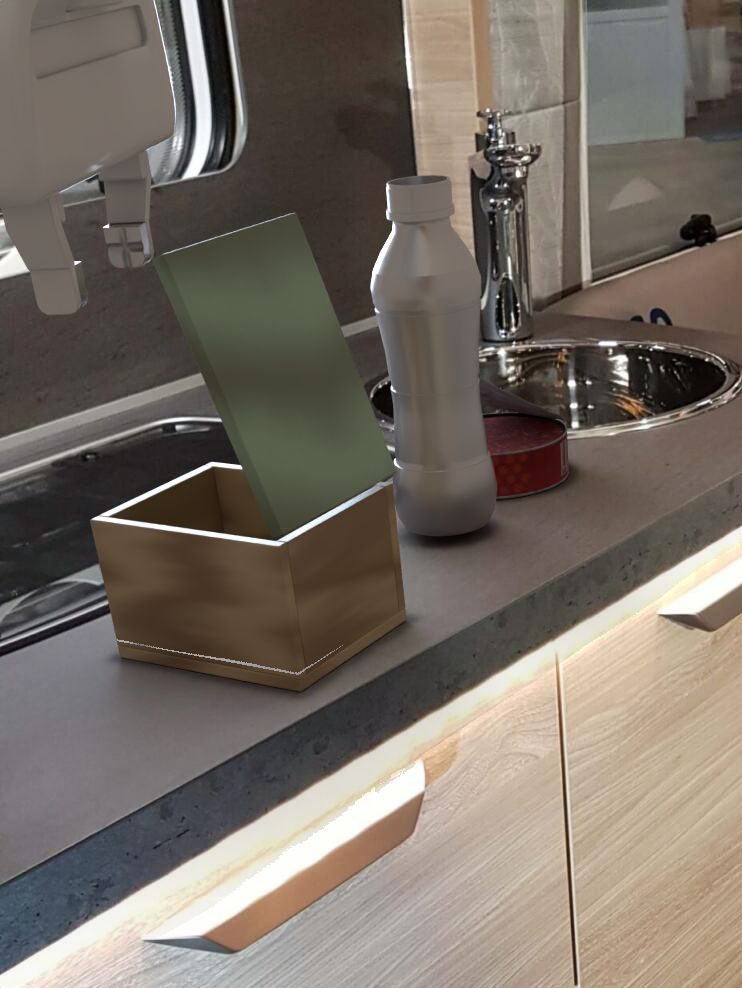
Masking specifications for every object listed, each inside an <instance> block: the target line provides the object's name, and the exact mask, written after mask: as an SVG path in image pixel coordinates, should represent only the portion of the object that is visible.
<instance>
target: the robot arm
mask: <svg viewBox="0 0 742 988" xmlns="http://www.w3.org/2000/svg"><path fill="white" fill-rule="evenodd" d="M176 111H177V109H176V98H175V94H174V88H173V83H172V77H171V73H170V66H169V63H168V56H167V52H166V48H165V43H164V38H163V33H162V29H161V23H160V17H159V15H158V9H157V5H156V0H0V210H1V214H2V219H3V223H4V227H5V228H4V229H5V231H6V232H7V234H8V236H9V239H10V240H11V242H12V243H13V246H14V247H15V249H16V251H17V252H18V254H19V257H20V258H21V260H22V261H23V264H24V265H25V267H26V269H27V270H28V271H29V274H30V278H31V279H30V280H31V283H32V287H33V293H34V296H35V300H36V304H37V307H38V309H39V310H40V311H41V313H43V314H45V315H46V316H63V315H64V316H65V315H73V314H75V313H77V312H78V311H79V310H80V309H82V308H83V307H84V306H85V305H87V303H88V301H89V298H90V297H89V291H88V288H87V286H86V276H85V272H84V267H83V261H82V260H81V261H80V260H79V261H75V259H74V255H73V252H72V250H71V247H70V244H69V241H68V238H67V236H66V232H65V230H64V227H63V224H62V223H64V222H66V219H67V217H66V211H65V207H64V202H63V201H64V200H63V197H62V192H64V191H66V190H69V189H70V188H72V187H75V186H76V185H79V184H80V183H83V182H85V181H86V180H89V179H91V178H93V177H95V176H98V177H97V178H98V180H99V182H103V188H104V196H105V197H104V198H105V208H106V209H105V210H106V219H107V225H105V226H103V227H102V230H103V231H102V232H103V237H104V240H105V245H106V247H107V257H108V260H109V263H110V264H111V266H113V267H114V268H116V269H120V270H122V269H139V268H141V267H143V266H145V265H146V264H148V263H149V262H151V260H153V259H154V256H155V247H154V241H153V237H152V231H151V225H150V216H151V215H150V214H151V192H152V171H151V165H150V160H149V154H148V150H150V149H152V148H154V147H156V146H158V145H160V144H162V143H165V142H167V141H168V140H171V139H172V138H173V137H174V136H175V131H176V118H177V117H176V115H177V114H176V113H177V112H176Z"/></svg>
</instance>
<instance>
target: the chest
mask: <svg viewBox="0 0 742 988" xmlns="http://www.w3.org/2000/svg"><path fill="white" fill-rule="evenodd" d="M397 522H398V521H397V511H396V507H395V502H394V492H393V482H386V481H381V482H379V483H377V484H375V485H374V486H372V487H370V488H368V489H366V490H365V491H363V492H361V493H359V494H357V495H356V496H354V497H352V498H350V499H348V500H347V501H345V502H343V503H341V504H339V505H338V506H336V507H334V508H332V509H330V510H329V511H327V512H325V513H323V514H322V515H320V516H318V517H316V518H314V519H313V520H311V521H309V522H307V523H305V524H304V525H302V526H300V527H298V528H296V529H295V530H293V531H291V532H289V533H287V534H286V535H284V536H281V537H278V538H275V539H273V538H272V537H271V534H270V532H269V530H268V527H267V525H266V523H265V521H264V518H263V516H262V514H261V511H260V509H259V507H258V504H257V502H256V500H255V497H254V495H253V493H252V490H251V488H250V486H249V483H248V481H247V479H246V476H245V474H244V472H243V469H242V467H241V465H240V464H233V463H232V464H231V463H225V462H224V463H223V462H214V461H210V462H208V463H206V464H205V465H202V466H200V467H198V468H196V469H194V470H191V471H190V472H187V473H185V474H183V475H181V476H179V477H177V478H174V479H172V480H171V481H169V482H166V483H164V484H162V485H160V486H158V487H156V488H154V489H152V490H149V491H147V492H145V493H143V494H141V495H139V496H137V497H134V498H132V499H130V500H128V501H127V502H124V503H122V504H120V505H118V506H116V507H114V508H112V509H109V510H107V511H105V512H103V513H101V514H99V515H98V516H95V517H93V518H91V519H90V520H89V523H90V526H91V527H90V528H91V531H92V536H93V540H94V544H95V549H96V554H97V557H98V563H99V568H100V572H101V576H102V581H103V585H104V589H105V594H106V599H107V603H108V609H109V613H110V616H111V617H110V618H111V621H112V626H113V630H114V635H115V639H118V640H124V641H129V642H133V643H137V644H138V643H139V644H144V645H148V646H149V645H150V646H152V647H153V646H154V647H157V648H158V647H159V648H163V649H168V650H174V651H179V652H186V653H190V654H191V653H192V654H197V655H198V654H199V655H204V656H211V657H216V658H225V659H230V660H235V661H240V662H241V661H242V662H245V663H246V662H247V663H252V664H257V665H260V666H265V667H270V668H275V669H277V668H278V669H281V670H286V671H289V672H290V671H291V672H294V673H295V672H297V673H298V672H300V671H302V670H303V669H305V668H306V667H308V666H310V665H311V664H314V663H315V662H317V661H318V660H320V659H321V658H323V657H324V656H326V655H327V654H329V653H330V652H332V651H334V650H335V651H334V652H332V653H331V654H329V655H328V656H326V657H325V658H323V659H322V660H320V661H319V662H317V663H316V664H314V665H313V666H311V667H310V668H308V669H306V670H305V671H304V672H302V673H301V674H299V675H296V674H290V673H285V672H279V671H274V670H269V669H263V668H258V667H253V666H247V665H242V664H237V663H231V662H226V661H221V660H215V659H210V658H205V657H199V656H194V655H188V654H183V653H178V652H172V651H167V650H162V649H156V648H151V647H146V646H140V645H135V644H130V643H124V642H119V641H117V640H116V644H117V648H118V653H119V657H120V658H123V659H128V660H134V661H139V662H144V663H149V664H155V665H160V666H165V667H169V668H175V669H180V670H186V671H191V672H196V673H200V674H206V675H211V676H218V677H221V678H226V679H227V678H228V679H232V680H238V681H243V682H247V683H253V684H258V685H263V686H269V687H274V688H280V689H285V690H290V691H295V692H303V691H304V690H305V689H307V688H309V687H311V686H312V685H313V684H315V683H316V682H318V681H319V680H320V679H322V678H323V677H325V676H326V675H328V674H329V673H331V672H332V671H334V670H335V669H336V668H338V667H339V666H341V665H342V664H344V663H345V662H347V661H348V660H350V659H351V658H352V657H354V656H355V655H357V654H359V653H360V652H361V651H363V650H365V649H366V648H367V647H369V646H370V645H371V644H373V643H374V642H376V641H377V640H380V638H382V637H383V636H385V635H386V634H388V633H389V632H391V631H392V630H394V629H395V628H397V627H398V626H399V625H401V624H403V623H404V622H405V621H407V619H408V618H407V609H406V599H405V598H406V597H405V589H404V581H403V580H404V579H403V572H402V571H403V569H402V561H401V551H400V541H399V532H398V523H397ZM342 645H343V646H342ZM340 646H341V647H340ZM339 647H340V648H339ZM337 648H338V649H337ZM336 649H337V650H336Z"/></svg>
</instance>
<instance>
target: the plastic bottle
mask: <svg viewBox="0 0 742 988" xmlns="http://www.w3.org/2000/svg"><path fill="white" fill-rule="evenodd" d="M385 189H386V201H387V208H386V210H385V212H386V219H387V220H388V221H390V222H392V230H391V232H390V234H389V236H388V238H387V240H386V241H385V242H384V243H385V244H384V245H383V247H382V249H381V250H380V252H379V255H378V257H377V260H376V262H375V263H374V267H373V268H372V275H371V279H370V280H371V281H370V286H369V287H370V295H371V299H372V304H373V306H374V313H375V317H376V321H377V325H378V329H379V333H380V337H381V341H382V345H383V349H384V353H385V354H384V355H385V358H386V359H385V360H386V367H387V372H388V373H387V374H388V379H389V381H390V384H391V386H390V393H391V399H392V405H393V406H392V407H393V439H394V441H393V442H394V456H395V458H394V460H393V463H394V465H395V468H396V471H397V472H396V473H395V474H393V475H392V484H393V492H394V502H395V511H396V515H397V518H398V519H399V520H400V522H401V523H402V524H403V525H404V527H405V528H406V529H407V530H408V531H409V532H411V533H413V534H416V535H420V536H427V537H449V536H457V535H462V534H467V533H472V532H474V531H476V530H480V529H481V528H483V527H485V526H486V525H487V524H488V523H489V522H490V520H491V518H492V516H493V514H494V512H495V510H496V506H497V505H496V504H497V499H496V496H497V481H496V476H495V471H494V466H493V462H492V458H491V455H490V452H489V451H488V450H487V449H488V445H487V439H486V432H485V426H484V419H483V414H484V413H483V407H482V406H483V405H481V400H480V381H479V378H478V377H479V373H480V352H479V351H480V350H479V349H480V347H479V346H480V345H479V343H480V342H479V341H480V324H481V308H482V307H481V305H482V299H481V297H482V275H481V272H480V269H479V265H478V264H477V260H476V259H475V258H474V256H473V254H472V253H471V251H470V249H469V248H468V246H467V245H466V243H465V241H464V240H463V239H462V238H461V236H460V235H459V234H458V233H457V231H456V230H455V229H454V227H453V226H452V223H451V222H452V221H451V216H454V214H455V213H456V211H455V209H456V208H455V203H454V202H453V189H452V181H451V177H450V176H449V175H442V174H426V175H425V174H424V175H414V176H412V175H411V176H406V177H399V178H395V179H392V180H388V181H387V182H386V187H385Z"/></svg>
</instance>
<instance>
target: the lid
mask: <svg viewBox="0 0 742 988" xmlns="http://www.w3.org/2000/svg"><path fill="white" fill-rule="evenodd" d="M152 263H153V265H154V267H155V269H156V271H157V274H158V277H159V279H160V281H161V284H162V286H163V289H164V291H165V293H166V295H167V298H168V300H169V303H170V305H171V306H172V309H173V312H174V314H175V316H176V318H177V321H178V323H179V325H180V328H181V330H182V332H183V335H184V337H185V339H186V341H187V345H188V346H189V349H190V351H191V353H192V356H193V358H194V360H195V363H196V365H197V367H198V369H199V371H200V374H201V376H202V379H203V381H204V384H205V386H206V388H207V390H208V393H209V395H210V397H211V400H212V402H213V405H214V407H215V409H216V412H217V414H218V416H219V418H220V420H221V423H222V426H223V428H224V430H225V432H226V434H227V437H228V439H229V441H230V443H231V446H232V448H233V451H234V453H235V455H236V459H237V460H238V462H239V465H241V467H242V469H243V472H244V474H245V476H246V479H247V481H248V483H249V486H250V488H251V490H252V493H253V495H254V497H255V500H256V502H257V504H258V507H259V509H260V511H261V514H262V516H263V518H264V521H265V523H266V525H267V527H268V530H269V532H270V534H271V537H272V538H273V539H275V538H278V537H281V536H284V535H286V534H287V533H289V532H291V531H293V530H295V529H296V528H298V527H300V526H302V525H304V524H305V523H307V522H309V521H311V520H313V519H314V518H316V517H318V516H320V515H322V514H323V513H325V512H327V511H329V510H330V509H332V508H334V507H336V506H338V505H339V504H341V503H343V502H345V501H347V500H348V499H350V498H352V497H354V496H356V495H357V494H359V493H361V492H363V491H365V490H366V489H368V488H370V487H372V486H374V485H375V484H377V483H379V482H384V481H385V480H386V479H388V478H390V477H393V474H395V473H396V472H397V471H396V468H395V465H394V460H393V458H392V455H391V452H390V450H389V447H388V445H387V442H386V440H385V437H384V435H383V432H382V430H381V427H380V425H379V423H378V419H377V417H376V415H375V414H376V413H375V412H374V408H373V406H372V404H371V401H370V399H369V397H368V394H367V391H366V388H365V386H364V383H363V381H362V379H361V375H360V373H359V370H358V368H357V366H356V363H355V361H354V358H353V355H352V353H351V349H350V347H349V345H348V342H347V340H346V337H345V335H344V332H343V329H342V327H341V324H340V322H339V319H338V316H337V314H336V312H335V309H334V305H333V303H332V301H331V298H330V296H329V294H328V290H327V288H326V286H325V283H324V281H323V278H322V275H321V273H320V270H319V268H318V265H317V263H316V259H315V258H314V255H313V252H312V249H311V247H310V245H309V241H308V239H307V237H306V235H305V232H304V229H303V226H302V224H301V221H300V219H299V217H298V214H297V213H296V212H292V213H288V214H285V215H282V216H279V217H276V218H273V219H271V220H270V219H269V220H266V221H263V222H260V223H257V224H253V225H251V226H247V227H244V228H241V229H237V230H235V231H231V232H229V233H225V234H222V235H219V236H215V237H212V238H209V239H206V240H203V241H200V242H197V243H193V244H190V245H188V246H183V247H181V248H178V249H174V250H171V251H169V252H165V253H162V254H160V255H158V256H156V257H154V258H152Z"/></svg>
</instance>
